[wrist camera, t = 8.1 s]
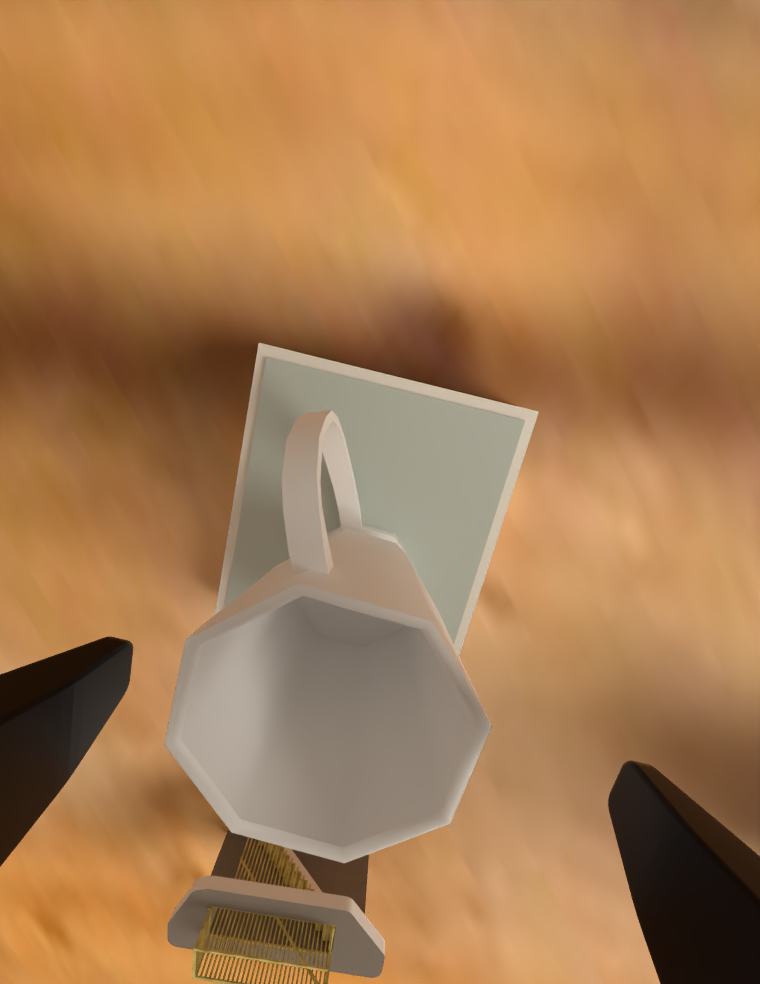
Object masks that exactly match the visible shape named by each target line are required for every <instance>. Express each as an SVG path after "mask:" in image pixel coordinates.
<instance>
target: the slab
mask: <svg viewBox="0 0 760 984" xmlns="http://www.w3.org/2000/svg"><path fill="white" fill-rule="evenodd" d="M328 410H332V411H333V412H334V413H335V414H336V416H337V417H338V418H339V421H340V424H341V427H342V430H343V433H344V437H345V440H346V444H347V448H348V453H349V457H350V461H351V465H352V469H353V474H354V478H355V483H356V488H357V493H358V498H359V504H360V511H361V518H362V524H364V525H367V526H371V527H374V528H378V529H381V530H384V531H388V532H391V533H395V535H396V537H397V538H398V540H399V542H400V544H401V545H402V547H403V549H404V551H405V553H406V554H407V556H408V558H409V560H410V561H411V563H412V565H413V567H414V569H415V570H416V572H417V574H418V576H419V578H420V580H421V581H422V583H423V585H424V587H425V588H426V590H427V592H428V594H429V596H430V597H431V599H432V601H433V603H434V604H435V606H436V608H437V610H438V612H439V613H440V616H441V618H442V620H443V622H444V625H445V627H446V629H447V631H448V633H449V636H450V638H451V640H452V642H453V645H454V647H455V649H456V651H457V654H458V656H460V653H461V649H462V646H463V643H464V640H465V637H466V634H467V631H468V628H469V625H470V622H471V619H472V616H473V612H474V609H475V606H476V603H477V600H478V597H479V594H480V591H481V588H482V585H483V582H484V579H485V576H486V572H487V569H488V566H489V563H490V560H491V557H492V554H493V551H494V548H495V545H496V542H497V539H498V536H499V532H500V529H501V526H502V523H503V520H504V517H505V514H506V511H507V508H508V505H509V502H510V499H511V496H512V492H513V489H514V486H515V483H516V480H517V477H518V474H519V471H520V468H521V465H522V462H523V459H524V456H525V452H526V449H527V446H528V443H529V440H530V437H531V434H532V431H533V428H534V425H535V422H536V419H537V415H538V411H534V410H530V409H526V408H522V407H517V406H513V405H509V404H505V403H501V402H497V401H493V400H489V399H485V398H481V397H477V396H473V395H469V394H465V393H461V392H457V391H453V390H449V389H445V388H441V387H436V386H432V385H428V384H424V383H420V382H416V381H412V380H408V379H404V378H400V377H396V376H392V375H388V374H384V373H380V372H376V371H372V370H368V369H364V368H360V367H355V366H351V365H347V364H343V363H339V362H335V361H331V360H327V359H323V358H319V357H315V356H311V355H307V354H303V353H299V352H295V351H291V350H287V349H283V348H278V347H274V346H270V345H266V344H262V343H259V344H258V350H257V356H256V362H255V369H254V375H253V381H252V387H251V393H250V400H249V406H248V412H247V418H246V424H245V431H244V437H243V443H242V449H241V455H240V462H239V468H238V474H237V480H236V486H235V493H234V499H233V505H232V511H231V518H230V524H229V530H228V536H227V542H226V549H225V555H224V561H223V567H222V573H221V580H220V586H219V592H218V598H217V604H216V611H215V615H216V614H217V613H218V612H220V611H221V610H222V609H224V608H225V607H226V606H227V605H229V604H230V603H231V602H233V601H234V600H235V599H237V598H238V597H239V596H240V595H242V594H243V593H244V592H245V591H247V590H248V589H249V588H250V587H251V586H253V585H254V584H255V583H256V582H257V581H259V580H260V579H261V578H262V577H263V576H265V575H266V574H267V573H268V572H269V571H270V570H272V569H273V568H274V567H275V566H277V565H278V564H280V563H282V562H284V561H286V560H288V559H290V556H289V552H288V544H287V536H286V529H285V521H284V514H283V498H282V471H283V463H284V455H285V446H286V439H287V437H288V435H289V433H290V431H291V429H292V427H293V425H294V423H295V421H296V419H298V418H299V417H300V416H301V415H303V414H304V413H310V412H319V411H328ZM320 484H321V501H322V509H323V515H324V520H325V526H326V531H327V533H329V532H331V531H333V530H335V529H337V528H339V527H341V524H340V516H339V510H338V506H337V501H336V497H335V493H334V488H333V485H332V482H331V478H330V475H329V471H328V468H327V465H326V462H325V459H324V455H323V452H322V462H321V480H320Z"/></svg>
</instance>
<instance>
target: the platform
mask: <svg viewBox="0 0 760 984" xmlns="http://www.w3.org/2000/svg"><path fill="white" fill-rule="evenodd" d="M368 858H369V854H368V855H365V856H363V857H360V858H357V859H355V860H352V861H349V862H347V863H341V862H338V861H334V860H330V859H327V858H323V857H319V856H316V855H312V854H308V853H305V852H301V851H297V850H294V849H290V848H286V847H283V846H279V845H275V844H272V843H268V842H265V841H261V840H257V839H254V838H250V837H246V836H243V835H239V834H235V833H232V832H231V831H228V832H227V835H226V837H225V840H224V842H223V845H222V848H221V850H220V853H219V855H218V858H217V861H216V863H215V866H214V869H213V871H212V874H211V876H204V877H200V878H198V879H197V880H196V881H195V883H194V884H193V885H192V887H191V888H190V889H189V890H188V892H187V893H186V894H185V896H184V897H183V898H182V900H181V901H180V902H179V904H178V905H177V906H176V907H175V909H174V911H173V914H172V916H171V918H170V921H169V923H168V941H169V943H170V944H172V945H173V946H176V947H181V948H187V949H193V966H192V979H199V980H205V981H211V982H218V983H224V984H247V980H248V976H249V972H250V968H251V964H252V961H253V960H255V964H254V968H253V972H252V976H251V980H250V984H251V983H252V979H253V975H254V971H255V967H256V962H257V961H260V962H259V967H258V971H257V975H256V979H255V983H254V984H256V981H257V977H258V973H259V969H260V965H261V961H262V962H264V965H263V969H262V973H261V977H260V982H259V984H261V980H262V975H263V971H264V967H265V962H268V967H267V971H266V976H265V980H264V984H265V982H266V978H267V973H268V969H269V965H270V963H273V965H272V969H271V974H270V978H269V983H268V984H270V981H271V976H272V971H273V967H274V964H277V967H276V972H275V976H274V981H273V984H274V983H275V979H276V974H277V969H278V964H281V970H280V974H279V979H278V984H279V981H280V976H281V972H282V967H283V965H286V967H285V972H284V977H283V982H282V984H284V979H285V974H286V969H287V966H290V970H289V975H288V980H287V984H288V982H289V977H290V972H291V966H293V967H294V972H293V978H292V983H291V984H293V980H294V974H295V969H296V967H299V970H298V975H297V981H296V984H297V983H298V977H299V971H300V968H303V972H302V978H301V984H302V980H303V974H304V968H306V970H307V975H306V982H305V984H307V977H308V973H309V974H310V976H311V979H310V984H311V981H312V979H313V981H314V984H320V981H321V973H322V971H325V975H324V982H323V984H328V977H329V971H332V972H338V973H345V974H351V975H357V976H364V977H370V978H373V977H377V976H379V975H380V974H381V972H382V967H383V963H384V955H385V940H384V939H383V937H382V936H381V935H380V933H379V932H378V931H377V930H376V928H375V927H374V926H373V925H372V923H371V922H370V921H369V919H368V918H367V917H366V916H365V902H366V887H367V873H368ZM205 953H208V954H207V957H206V960H205V963H204V966H203V969H202V972H201V975H200V976H197V975H198V972H199V969H200V966H201V963H202V960H203V957H204V955H205ZM209 953H211V954H212V956H211V959H210V962H209V965H208V968H207V971H206V974H205V977H203V976H202V974H203V971H204V968H205V965H206V962H207V959H208V956H209ZM202 954H203V955H202ZM214 954H216V957H215V960H214V964H213V967H212V970H211V973H210V976H209V977H206V976H207V973H208V970H209V967H210V964H211V961H212V958H213V955H214ZM218 955H221V956H220V959H219V962H218V966H217V969H216V972H215V975H214V978H211V975H212V972H213V969H214V966H215V963H216V960H217V957H218ZM222 955H224V956H225V958H224V961H223V964H222V968H221V971H220V974H219V977H218V979H215V978H216V974H217V971H218V968H219V965H220V961H221V958H222ZM227 956H229V960H228V963H227V966H226V970H225V973H224V976H223V980H222V979H220V977H221V973H222V970H223V967H224V963H225V960H226V957H227ZM201 957H202V958H201ZM231 957H234V958H233V962H232V965H231V968H230V972H229V975H228V979H227V980H224V979H225V975H226V972H227V969H228V965H229V962H230V958H231ZM235 957H237V958H238V960H237V964H236V967H235V971H234V974H233V978H232V981H229V978H230V974H231V971H232V967H233V964H234V960H235ZM240 958H242V962H241V966H240V969H239V973H238V977H237V980H236V982H234V981H233V980H234V977H235V973H236V969H237V966H238V962H239V959H240ZM244 959H247V960H246V964H245V968H244V972H243V975H242V979H241V983H240V982H238V979H239V975H240V972H241V968H242V964H243V960H244ZM248 959H249V960H251V962H250V966H249V970H248V974H247V978H246V982H245V983H242V981H243V978H244V974H245V970H246V966H247V962H248ZM200 960H201V961H200ZM199 963H200V964H199ZM198 966H199V967H198ZM197 969H198V970H197ZM311 969H312V971H311ZM313 970H316V975H315V976H314V974H313ZM317 970H319V971H320V979H319V982H318V981H317V979H316V977H317ZM196 972H197V973H196ZM195 974H196V975H195ZM325 977H326V979H325Z"/></svg>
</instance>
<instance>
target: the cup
mask: <svg viewBox="0 0 760 984" xmlns="http://www.w3.org/2000/svg"><path fill="white" fill-rule="evenodd" d="M322 452H323V455H324V459H325V462H326V465H327V468H328V471H329V475H330V478H331V482H332V485H333V488H334V493H335V497H336V501H337V506H338V510H339V516H340V524H341V527H339V528H337V529H335V530H333V531H331V532H329V533H327V531H326V526H325V520H324V515H323V509H322V501H321V484H320V480H321V462H322ZM282 498H283V514H284V521H285V529H286V536H287V544H288V552H289V556H290V559H288V560H286V561H284V562H282V563H280V564H278V565H277V566H275V567H274V568H273V569H272V570H270V571H269V572H268V573H267V574H266V575H265V576H263V577H262V578H261V579H260V580H259V581H257V582H256V583H255V584H254V585H253V586H251V587H250V588H249V589H248V590H247V591H245V592H244V593H243V594H242V595H240V596H239V597H238V598H237V599H235V600H234V601H233V602H231V603H230V604H229V605H227V606H226V607H225V608H224V609H222V610H221V611H220V612H218V613H217V614H216V615H215V616H213V617H212V618H211V619H210V620H209V621H207V622H206V623H205V624H204V625H202V626H201V627H200V628H199V629H198V630H196V631H195V632H194V633H193V634H191V635H190V636H189V637H188V638H187V639H186V640H185V645H184V650H183V655H182V659H181V664H180V669H179V674H178V679H177V684H176V689H175V693H174V698H173V703H172V708H171V713H170V718H169V722H168V727H167V732H166V737H165V742H164V745H165V746H166V748H167V749H168V750H169V752H170V753H171V754H172V755H173V757H174V758H175V759H176V761H177V762H178V763H179V765H180V766H181V767H182V769H183V770H184V771H185V772H186V774H187V775H188V776H189V778H190V779H191V780H192V782H193V783H194V784H195V786H196V787H197V788H198V789H199V791H200V792H201V793H202V795H203V796H204V797H205V799H206V800H207V801H208V803H209V804H210V805H211V806H212V808H213V809H214V810H215V812H216V813H217V814H218V816H219V817H220V818H221V820H222V821H223V822H224V823H225V825H226V826H227V827H228V829H229V830H230V831H231V832H232V833H235V834H239V835H243V836H246V837H250V838H254V839H257V840H261V841H265V842H268V843H272V844H275V845H279V846H283V847H286V848H290V849H294V850H297V851H301V852H305V853H308V854H312V855H316V856H319V857H323V858H327V859H330V860H334V861H338V862H341V863H347V862H349V861H352V860H355V859H357V858H360V857H363V856H365V855H368V854H371V853H373V852H376V851H379V850H381V849H384V848H387V847H389V846H392V845H395V844H397V843H400V842H403V841H405V840H408V839H411V838H413V837H416V836H419V835H421V834H424V833H427V832H429V831H432V830H435V829H437V828H440V827H442V826H445V825H448V824H450V822H451V820H452V818H453V815H454V813H455V811H456V809H457V806H458V804H459V802H460V799H461V797H462V795H463V792H464V790H465V788H466V785H467V783H468V781H469V778H470V776H471V774H472V771H473V769H474V767H475V764H476V762H477V760H478V757H479V755H480V753H481V750H482V748H483V746H484V744H485V741H486V739H487V737H488V734H489V732H490V730H491V727H492V725H491V723H490V721H489V719H488V717H487V715H486V712H485V710H484V708H483V706H482V704H481V701H480V699H479V697H478V695H477V693H476V691H475V688H474V686H473V684H472V682H471V680H470V678H469V676H468V674H467V672H466V670H465V668H464V666H463V664H462V662H461V660H460V658H459V656H458V654H457V651H456V649H455V647H454V645H453V642H452V640H451V638H450V636H449V633H448V631H447V629H446V627H445V625H444V622H443V620H442V618H441V616H440V613H439V612H438V610H437V608H436V606H435V604H434V603H433V601H432V599H431V597H430V596H429V594H428V592H427V590H426V588H425V587H424V585H423V583H422V581H421V580H420V578H419V576H418V574H417V572H416V570H415V569H414V567H413V565H412V563H411V561H410V560H409V558H408V556H407V554H406V553H405V551H404V549H403V547H402V545H401V544H400V542H399V540H398V538H397V537H396V535H395V533H391V532H388V531H384V530H381V529H378V528H374V527H371V526H367V525H364V524H362V518H361V511H360V504H359V498H358V493H357V488H356V483H355V478H354V474H353V469H352V465H351V461H350V457H349V453H348V448H347V444H346V440H345V437H344V433H343V430H342V427H341V424H340V421H339V418H338V417H337V416H336V414H335V413H334V412H333V411H332V410H328V411H319V412H310V413H304V414H303V415H301V416H300V417H299V418H298V419H296V421H295V423H294V425H293V427H292V429H291V431H290V433H289V435H288V437H287V439H286V446H285V455H284V463H283V471H282Z"/></svg>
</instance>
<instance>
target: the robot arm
mask: <svg viewBox="0 0 760 984" xmlns="http://www.w3.org/2000/svg"><path fill="white" fill-rule="evenodd" d="M132 655H133V645H132V643H131V642H130V641H128V640H124V639H119V638H115V637H105V638H102V639H99V640H96V641H94V642H91V643H88V644H85V645H82V646H80V647H77V648H74V649H71V650H68V651H65V652H63V653H60V654H57V655H54V656H51V657H48V658H46V659H43V660H40V661H37V662H34V663H32V664H29V665H26V666H23V667H20V668H17V669H15V670H12V671H9V672H6V673H3V674H1V675H0V866H1V865H2V864H3V863H4V861H5V860H6V859H7V858H8V856H9V855H10V854H11V852H12V851H13V850H14V849H15V847H16V846H17V845H18V844H19V842H20V841H21V840H22V839H23V837H24V836H25V835H26V833H27V832H28V831H29V830H30V828H31V827H32V826H33V825H34V823H35V822H36V821H37V820H38V818H39V817H40V816H41V814H42V813H43V812H44V811H45V809H46V808H47V807H48V806H49V804H50V803H51V802H52V801H53V799H54V798H55V797H56V795H57V794H58V793H59V792H60V790H61V789H62V788H63V786H64V785H65V784H66V782H67V781H68V780H69V778H70V777H71V775H72V774H73V772H74V771H75V769H76V768H77V766H78V765H79V763H80V762H81V760H82V759H83V757H84V756H85V754H86V753H87V751H88V750H89V748H90V747H91V745H92V743H93V742H94V740H95V739H96V737H97V736H98V734H99V733H100V731H101V730H102V728H103V727H104V725H105V724H106V722H107V720H108V719H109V717H110V716H111V714H112V713H113V711H114V710H115V708H116V707H117V705H118V704H119V702H120V701H121V699H122V697H123V696H124V694H125V692H126V690H127V688H128V685H129V681H130V674H131V664H132ZM608 806H609V813H610V816H611V820H612V824H613V828H614V832H615V835H616V839H617V843H618V847H619V851H620V854H621V858H622V862H623V866H624V870H625V873H626V877H627V881H628V885H629V889H630V892H631V896H632V900H633V903H634V906H635V910H636V913H637V917H638V920H639V923H640V926H641V929H642V932H643V935H644V938H645V941H646V944H647V946H648V949H649V952H650V955H651V958H652V961H653V964H654V966H655V969H656V972H657V975H658V978H659V981H660V984H760V856H759V855H758V854H756V853H755V852H754V851H753V850H752V849H751V848H749V847H748V846H747V845H746V844H745V843H743V842H742V841H741V840H740V839H739V838H737V837H736V836H735V835H734V834H733V833H732V832H730V831H729V830H728V829H727V828H726V827H724V826H723V825H722V824H721V823H720V822H718V821H717V820H716V819H715V818H714V817H713V816H711V815H710V814H709V813H708V812H707V811H705V810H704V809H703V808H702V807H701V806H699V805H698V804H697V803H696V802H695V801H694V800H692V799H691V798H690V797H689V796H688V795H686V794H685V793H684V792H683V791H682V790H680V789H679V788H678V787H677V786H676V785H675V784H673V783H672V782H671V781H670V780H669V779H667V778H666V777H665V776H664V775H663V774H661V773H660V772H659V771H658V770H657V769H656V768H654V767H653V766H651V765H648V764H644V763H640V762H635V761H627V762H625V763H624V764H623V766H622V768H621V770H620V772H619V774H618V777H617V779H616V781H615V783H614V785H613V788H612V790H611V792H610V795H609V800H608Z"/></svg>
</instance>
